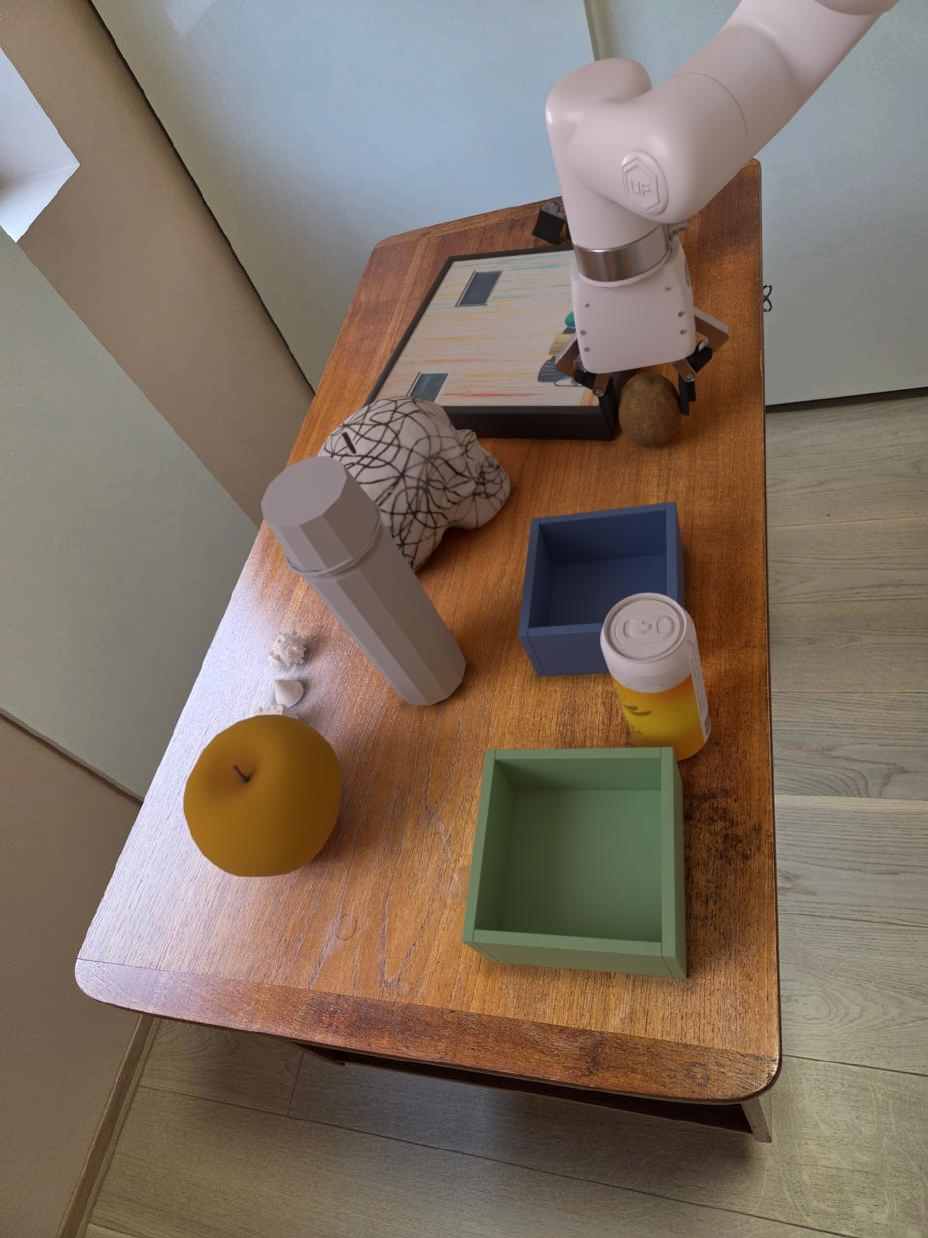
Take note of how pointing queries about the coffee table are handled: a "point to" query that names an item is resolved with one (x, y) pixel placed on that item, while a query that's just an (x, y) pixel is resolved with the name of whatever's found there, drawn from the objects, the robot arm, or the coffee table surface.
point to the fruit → (649, 409)
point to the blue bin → (593, 579)
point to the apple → (263, 796)
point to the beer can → (657, 672)
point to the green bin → (580, 861)
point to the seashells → (286, 691)
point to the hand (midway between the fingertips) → (649, 410)
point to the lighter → (551, 223)
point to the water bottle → (362, 577)
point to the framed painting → (499, 349)
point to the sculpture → (419, 472)
